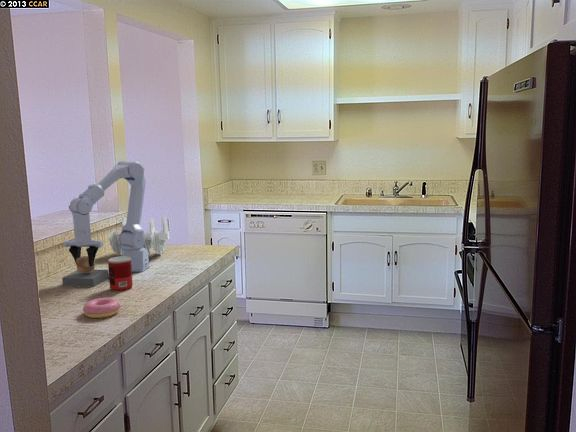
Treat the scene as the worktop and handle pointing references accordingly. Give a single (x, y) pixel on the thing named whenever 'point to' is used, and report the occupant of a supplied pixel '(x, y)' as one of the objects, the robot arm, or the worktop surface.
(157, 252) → the white irregular piece
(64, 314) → the worktop surface
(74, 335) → the worktop surface
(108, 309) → the doughnut
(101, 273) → the charcoal stand
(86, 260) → the terracotta block
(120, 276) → the canned food
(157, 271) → the worktop surface
